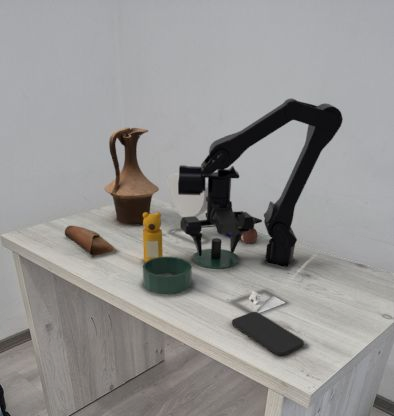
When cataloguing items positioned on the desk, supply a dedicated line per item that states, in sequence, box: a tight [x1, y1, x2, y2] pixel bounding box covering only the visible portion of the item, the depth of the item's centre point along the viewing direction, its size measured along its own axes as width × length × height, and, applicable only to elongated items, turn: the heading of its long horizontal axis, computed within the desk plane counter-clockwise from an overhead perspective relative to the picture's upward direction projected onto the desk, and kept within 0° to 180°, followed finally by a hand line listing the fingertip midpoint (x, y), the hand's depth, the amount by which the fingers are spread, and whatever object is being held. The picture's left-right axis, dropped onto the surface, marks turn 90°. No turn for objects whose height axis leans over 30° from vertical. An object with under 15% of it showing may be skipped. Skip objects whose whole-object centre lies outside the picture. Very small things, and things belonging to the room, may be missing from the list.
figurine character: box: [224, 216, 263, 245], centre depth 138 cm, size 7×8×15 cm
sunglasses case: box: [64, 225, 117, 258], centre depth 132 cm, size 18×7×7 cm
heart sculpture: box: [166, 172, 208, 239], centre depth 135 cm, size 16×5×18 cm, turn 45°
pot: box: [142, 256, 193, 295], centre depth 112 cm, size 12×12×5 cm
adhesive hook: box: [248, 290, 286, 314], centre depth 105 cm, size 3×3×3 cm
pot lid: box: [192, 237, 240, 270], centre depth 124 cm, size 13×13×6 cm
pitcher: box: [104, 126, 160, 226], centre depth 143 cm, size 18×17×28 cm
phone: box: [231, 311, 305, 356], centre depth 95 cm, size 7×1×15 cm
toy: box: [142, 211, 164, 263], centre depth 120 cm, size 5×5×13 cm
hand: (216, 253), depth 124 cm, fingers open, 9 cm apart
